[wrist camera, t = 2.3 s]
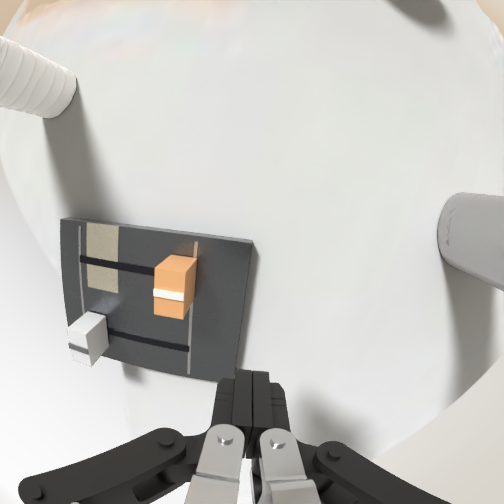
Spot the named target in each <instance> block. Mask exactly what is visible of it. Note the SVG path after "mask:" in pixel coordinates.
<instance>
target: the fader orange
mask: <svg viewBox="0 0 504 504" xmlns="http://www.w3.org/2000/svg"><path fill="white" fill-rule="evenodd" d="M196 267H197V258H192V257H185V256H178V255H170V256H169V257H168V258H166V259H165V260H164V261H163V262H161V263H160V264H159V265H158V266H156V267H155V276H154V289H153V296H154V314H156V315H161V316H166V317H172V318H177V319H184V317H185V315H186V313H187V311H188V309H189V307H190V306H191V304H192V302H193V300H194V294H195V280H196Z"/></svg>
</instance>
